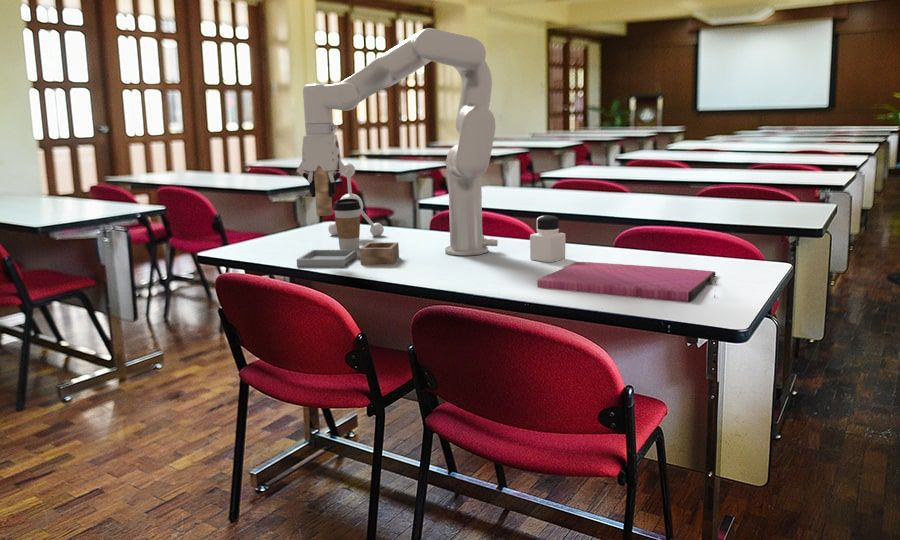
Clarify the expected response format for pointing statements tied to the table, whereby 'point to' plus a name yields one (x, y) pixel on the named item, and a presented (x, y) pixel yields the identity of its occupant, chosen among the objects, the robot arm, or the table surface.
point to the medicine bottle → (547, 240)
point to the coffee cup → (348, 223)
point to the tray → (327, 258)
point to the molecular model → (375, 228)
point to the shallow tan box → (379, 253)
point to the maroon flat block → (630, 280)
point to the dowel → (322, 192)
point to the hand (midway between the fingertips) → (323, 195)
